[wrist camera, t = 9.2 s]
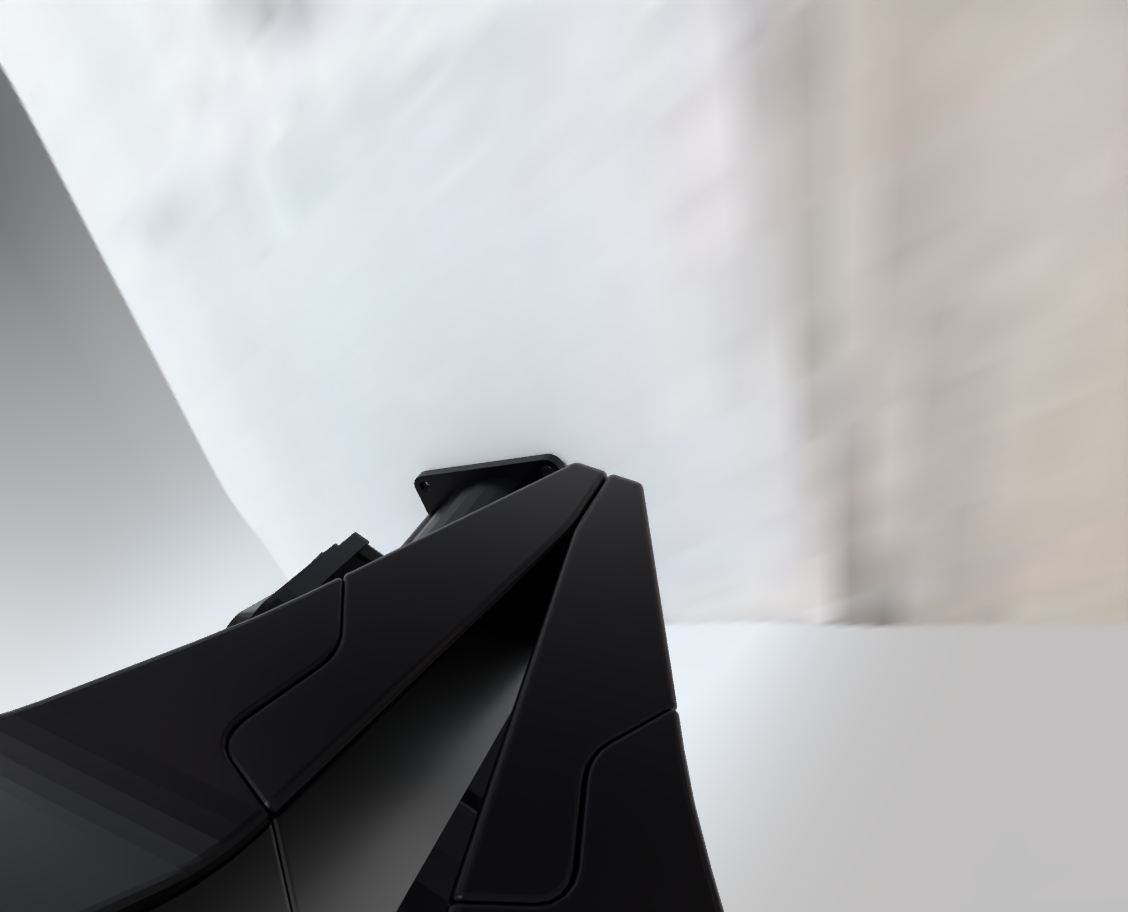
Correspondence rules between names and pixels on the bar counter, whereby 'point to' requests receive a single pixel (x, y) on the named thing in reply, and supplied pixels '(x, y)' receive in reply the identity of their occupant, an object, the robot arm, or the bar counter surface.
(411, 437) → the bar counter surface
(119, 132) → the bar counter surface
